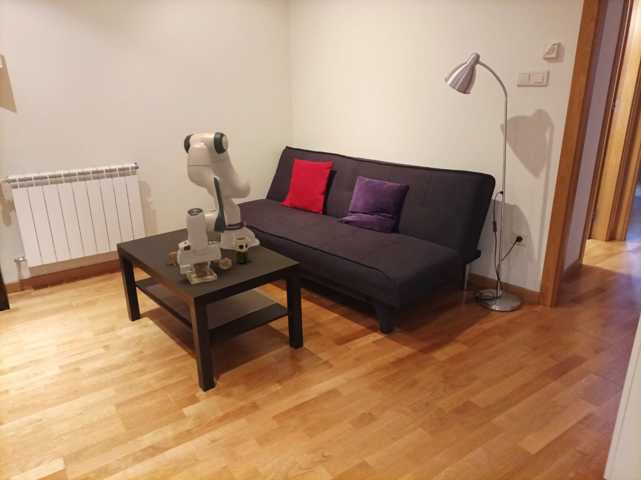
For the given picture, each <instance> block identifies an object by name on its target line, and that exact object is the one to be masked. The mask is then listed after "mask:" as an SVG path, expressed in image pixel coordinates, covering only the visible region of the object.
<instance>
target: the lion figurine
mask: <svg viewBox="0 0 641 480" xmlns="http://www.w3.org/2000/svg"><path fill="white" fill-rule="evenodd" d="M177 253H178V251H171V252H169V254H168V256H167V262H166V264H165V266H167V265H172V264H173V266H178V265H177V264H178V263H175V261H176V259H177ZM171 261H172V263H171Z"/></svg>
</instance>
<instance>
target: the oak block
mask: <svg viewBox="0 0 641 480" xmlns="http://www.w3.org/2000/svg"><path fill="white" fill-rule="evenodd" d="M218 267H219V268H220V269H222V270H227V269H231V268H232V259H230V258H228V257H225V258H224V257H223V258H221V259H220V260H219V263H218Z"/></svg>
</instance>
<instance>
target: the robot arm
mask: <svg viewBox="0 0 641 480" xmlns="http://www.w3.org/2000/svg"><path fill="white" fill-rule="evenodd" d="M183 148H184V151H185V152H186V153H187V162H186V165H187V166H186V169H187V170H186V171H187V177H188V180H189V181H190V182H191V183H192V184H193V185H195V186H197V187H201V188H203V189H206V192H207V193H208V194H209V195H210V196H211V197H212V198H213V203H214V209H215V210H212V211H211V210H209V211H204V209H202V208H200V207H194V208H193V207H192V208H190V209H188V210H187V212H186V220H185V223H186V230H187V234H188V235H187V239H186V240H184V241H181V242H179V243H178V250H177V252H178V253H177V258H176V259H177V264H178V265H179V267H180V266H184V265H190V266H191V270H192V271H193V272H197V271H196V268H195V264H198V263H203V262H204V263H205V262H206V268H207V270H209V268H210V266H211V263H212V261H213V260H219V259H222V253H221V249H224V250H231V251H232V250H233V251H236V250H235V249H232V243H234V238H235V237H238V236H246V237H248V240H251V245H250V246H249V248H252V247H257V246H259V245H261V244H260V241H259V239H258V238H256V237H255V236H256V235H255V233H254V232H253V231H252V230H250V229H249V228H248V227H246V226H248V225H247V222H246V221H244V220H242V219H241V209H240V206H239V205H237V204H236V203H235V202H234V200H233V199H238V200H239V199H245V198H248V197H249V195H250V194H251V185H250V183H249V181H248V180H246V179H244V178H243V177H242V176H241V175H240V174H239V173H238V172H237V170H235V168H234V166H233V164H232V161H231V158H230V155H229V152H228V151H229V150H228V148H229V141H228V138H227V135H225V133H223V132H219V131H216V132H212V131H211V132H208V131H207V132H201V133H196V134H193V133H192V134H189V135H187V136H186V137H185V138H184V140H183ZM207 232H215V233H220V241H218V240H213V241H208V235H207V234H208V233H207ZM248 244H249V242H248ZM233 246H234V245H233ZM234 247H235V246H234Z"/></svg>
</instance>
